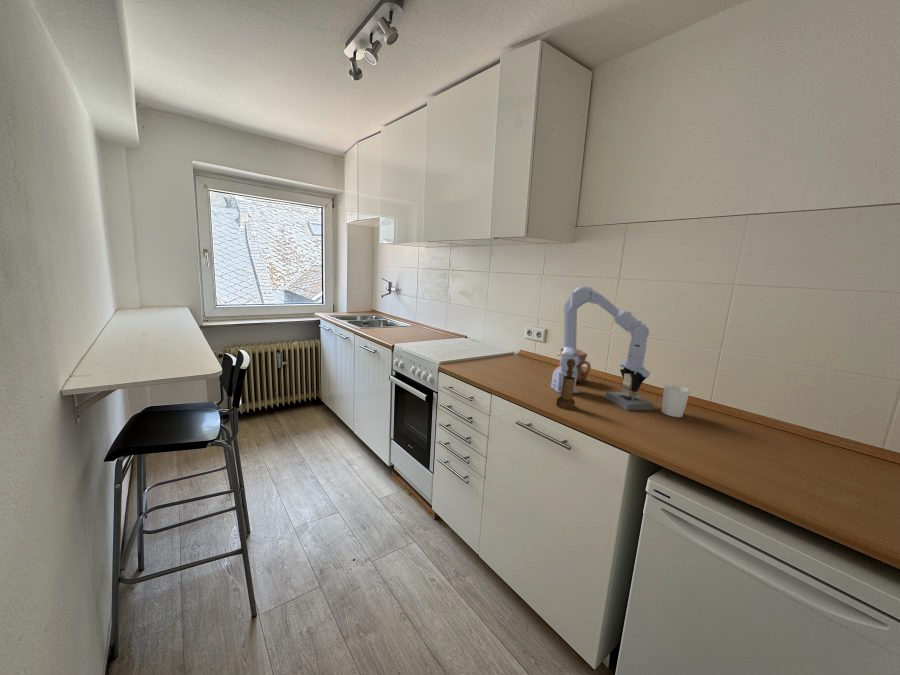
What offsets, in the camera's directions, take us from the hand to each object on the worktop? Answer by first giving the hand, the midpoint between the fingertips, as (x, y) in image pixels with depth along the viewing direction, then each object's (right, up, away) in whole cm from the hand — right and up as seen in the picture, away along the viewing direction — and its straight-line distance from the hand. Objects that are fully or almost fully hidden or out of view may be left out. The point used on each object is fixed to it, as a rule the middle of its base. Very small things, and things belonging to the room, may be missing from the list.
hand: (630, 389), depth 140 cm
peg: (0, -2, 0) cm, 2 cm away
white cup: (+12, -8, -6) cm, 16 cm away
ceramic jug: (-14, 0, +29) cm, 32 cm away
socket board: (0, -6, +1) cm, 6 cm away
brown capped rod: (-27, -6, -6) cm, 29 cm away
